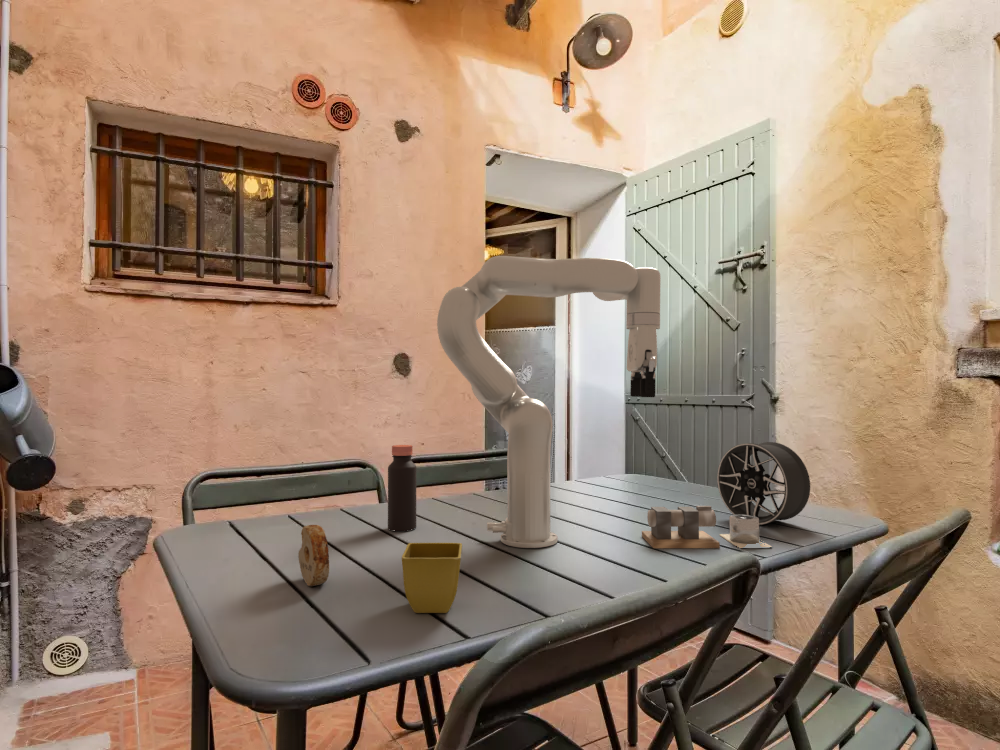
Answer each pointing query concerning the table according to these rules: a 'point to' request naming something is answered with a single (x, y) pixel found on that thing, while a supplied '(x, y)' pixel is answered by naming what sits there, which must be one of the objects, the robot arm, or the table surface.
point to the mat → (740, 545)
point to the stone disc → (314, 555)
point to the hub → (744, 529)
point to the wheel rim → (762, 481)
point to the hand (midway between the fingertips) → (642, 396)
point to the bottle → (402, 489)
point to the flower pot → (431, 575)
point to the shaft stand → (680, 527)
